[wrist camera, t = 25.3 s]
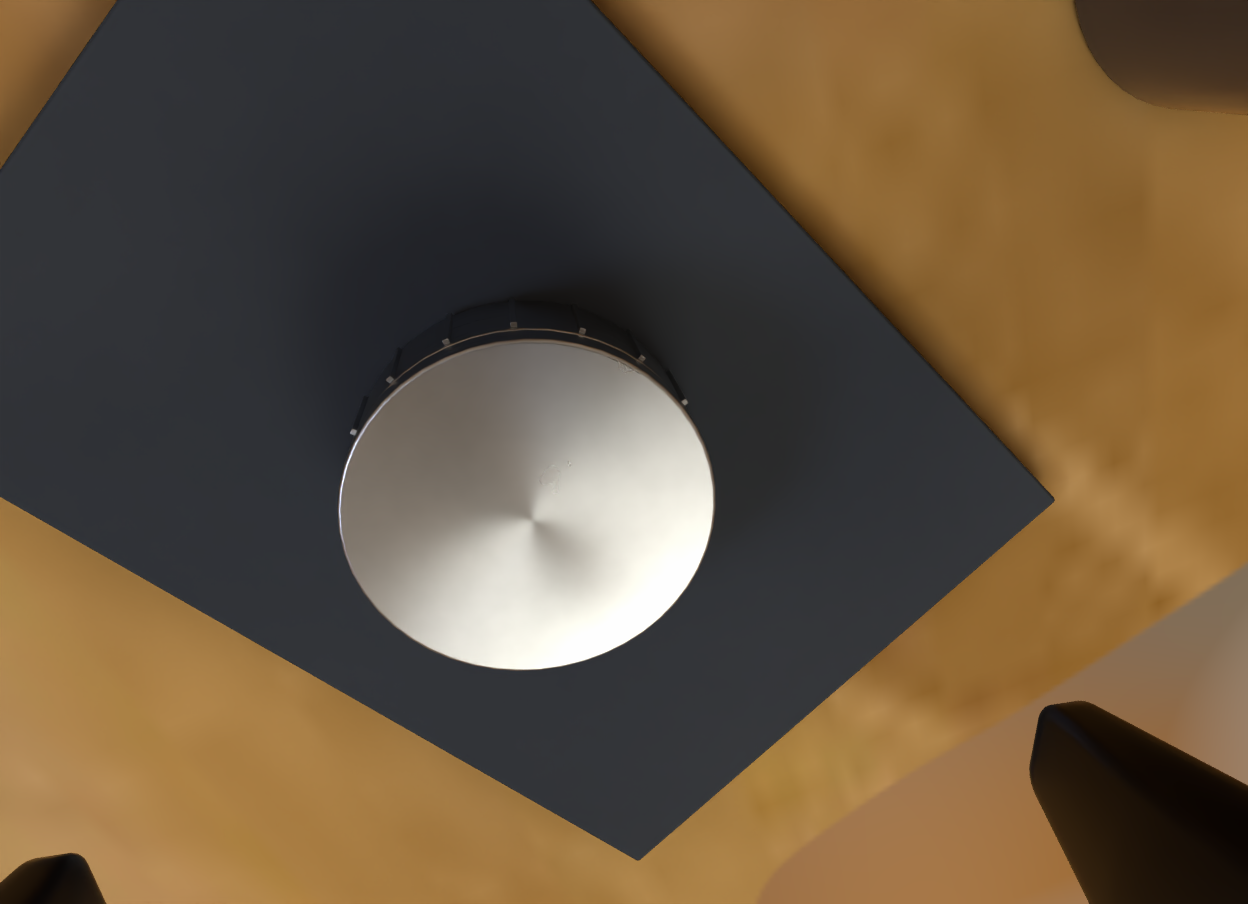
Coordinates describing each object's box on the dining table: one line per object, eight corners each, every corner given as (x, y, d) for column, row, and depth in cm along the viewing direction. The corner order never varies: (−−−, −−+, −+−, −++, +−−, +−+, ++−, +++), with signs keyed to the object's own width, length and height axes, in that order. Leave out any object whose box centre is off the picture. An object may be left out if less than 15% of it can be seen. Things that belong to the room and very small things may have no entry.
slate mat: (-143, 392, 16) (-164, 405, 15) (324, -280, 13) (318, -295, 12) (635, 844, 23) (638, 862, 23) (1042, 488, 20) (1056, 500, 20)
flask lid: (665, 604, 20) (688, 676, 17) (351, 594, 18) (331, 670, 16) (718, 315, 17) (753, 355, 15) (354, 280, 16) (331, 318, 13)
